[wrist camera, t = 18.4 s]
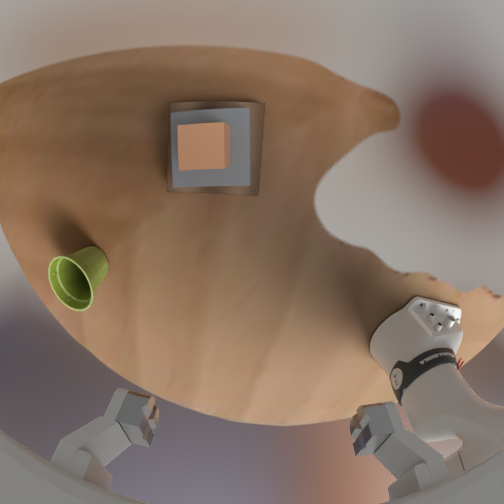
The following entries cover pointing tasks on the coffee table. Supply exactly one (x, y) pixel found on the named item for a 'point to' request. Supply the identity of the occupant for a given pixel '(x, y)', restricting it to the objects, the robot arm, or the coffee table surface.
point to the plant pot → (78, 276)
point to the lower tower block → (256, 146)
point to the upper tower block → (239, 148)
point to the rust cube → (203, 146)
